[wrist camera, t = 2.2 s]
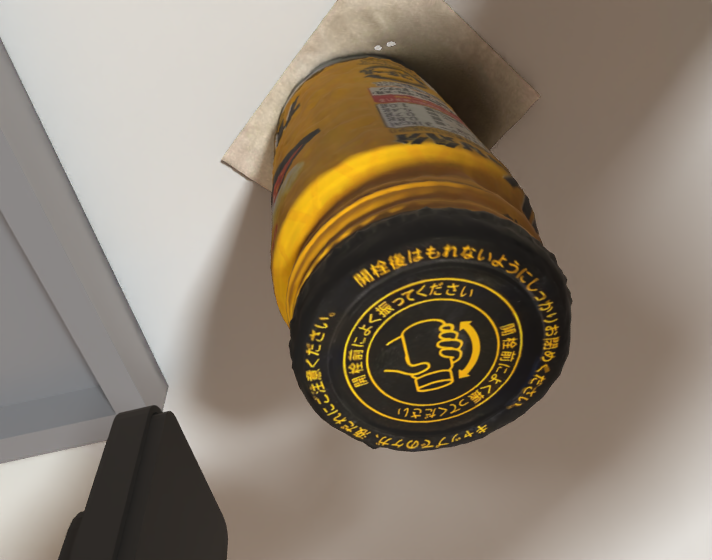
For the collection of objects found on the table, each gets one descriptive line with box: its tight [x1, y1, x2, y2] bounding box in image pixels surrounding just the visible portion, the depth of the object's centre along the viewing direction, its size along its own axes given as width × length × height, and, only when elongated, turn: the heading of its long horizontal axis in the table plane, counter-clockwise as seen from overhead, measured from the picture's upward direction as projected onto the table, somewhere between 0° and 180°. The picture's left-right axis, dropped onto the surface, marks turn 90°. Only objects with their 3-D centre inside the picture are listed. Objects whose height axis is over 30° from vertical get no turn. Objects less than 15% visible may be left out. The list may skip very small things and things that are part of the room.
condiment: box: [222, 0, 572, 452], centre depth 15 cm, size 7×8×12 cm
